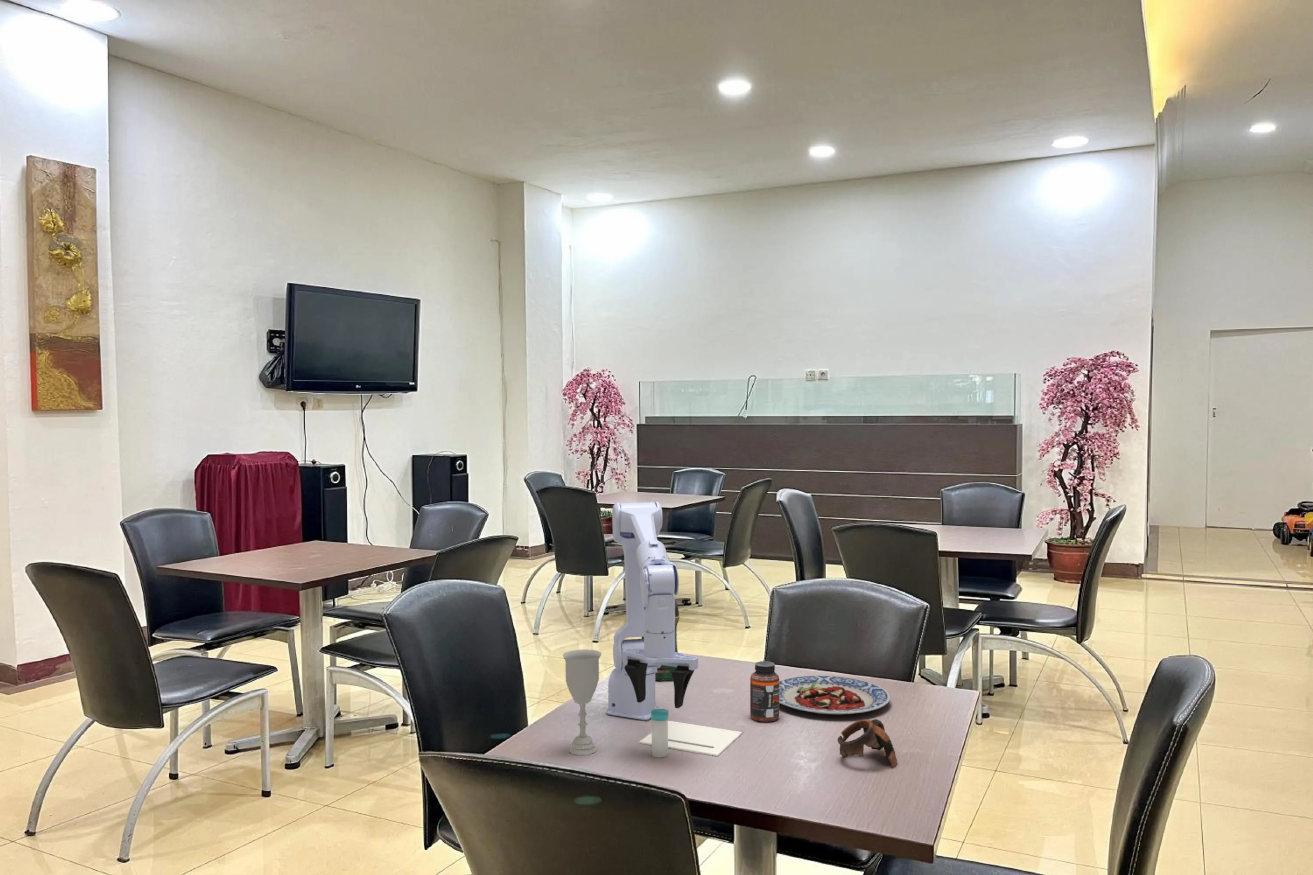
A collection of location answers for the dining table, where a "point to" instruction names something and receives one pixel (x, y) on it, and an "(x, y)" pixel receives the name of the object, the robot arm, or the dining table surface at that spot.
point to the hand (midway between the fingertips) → (659, 703)
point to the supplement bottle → (764, 692)
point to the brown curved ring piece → (867, 740)
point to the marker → (659, 732)
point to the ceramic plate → (831, 695)
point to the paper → (697, 738)
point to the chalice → (582, 691)
